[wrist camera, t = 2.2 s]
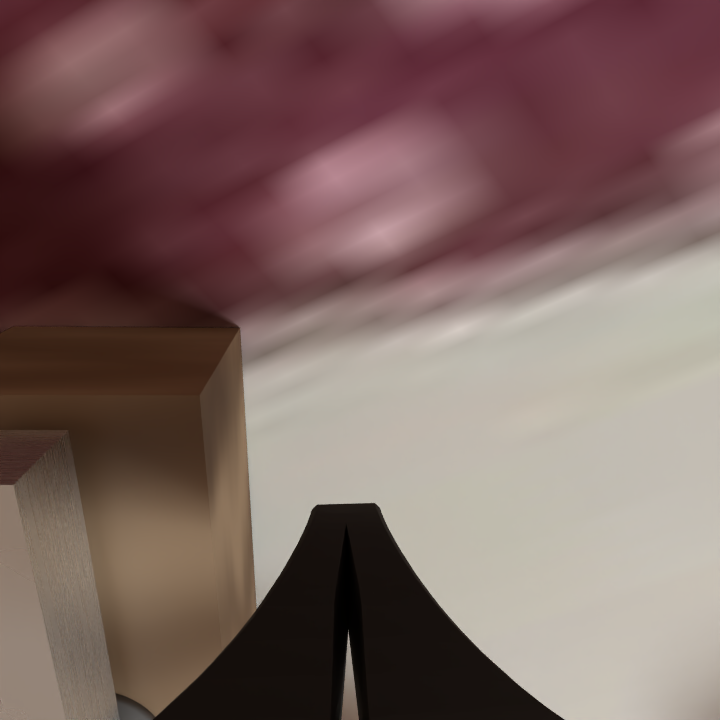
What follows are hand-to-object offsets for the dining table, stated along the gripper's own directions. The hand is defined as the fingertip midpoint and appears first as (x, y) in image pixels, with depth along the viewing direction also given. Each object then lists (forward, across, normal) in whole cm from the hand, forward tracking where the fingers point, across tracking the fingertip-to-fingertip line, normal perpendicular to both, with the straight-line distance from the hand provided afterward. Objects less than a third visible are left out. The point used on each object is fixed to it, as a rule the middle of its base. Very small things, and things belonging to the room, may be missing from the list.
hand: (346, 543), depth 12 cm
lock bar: (0, +7, +3) cm, 7 cm away
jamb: (+6, +6, +4) cm, 10 cm away
